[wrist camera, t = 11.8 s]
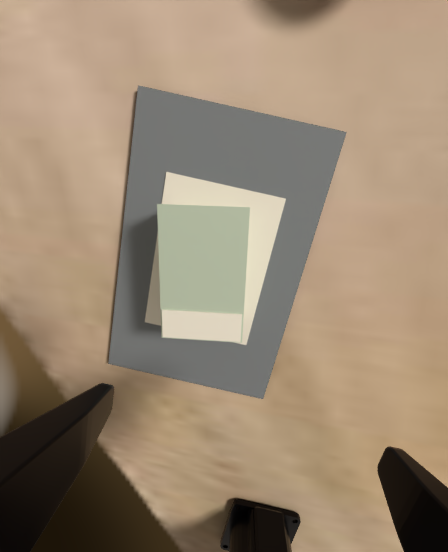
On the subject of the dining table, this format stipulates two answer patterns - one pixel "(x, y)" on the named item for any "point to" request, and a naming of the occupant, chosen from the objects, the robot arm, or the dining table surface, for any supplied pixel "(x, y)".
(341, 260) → the dining table surface
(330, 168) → the placemat
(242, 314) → the sage block
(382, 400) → the dining table surface
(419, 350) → the dining table surface
